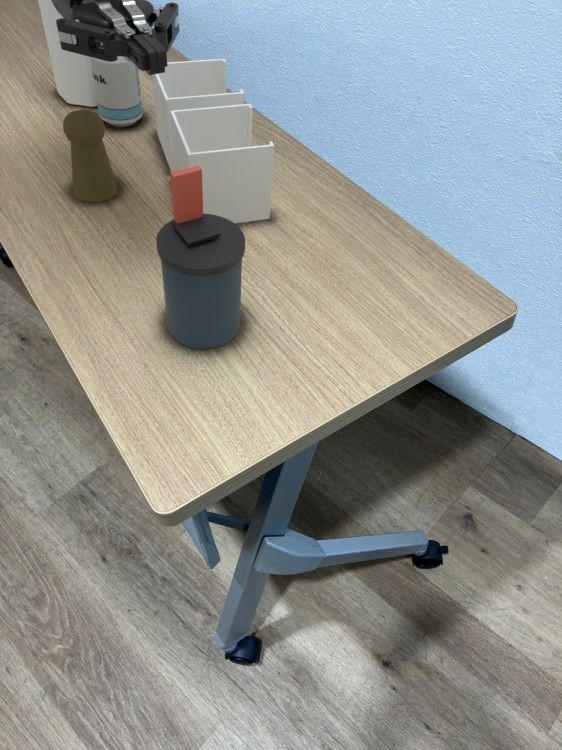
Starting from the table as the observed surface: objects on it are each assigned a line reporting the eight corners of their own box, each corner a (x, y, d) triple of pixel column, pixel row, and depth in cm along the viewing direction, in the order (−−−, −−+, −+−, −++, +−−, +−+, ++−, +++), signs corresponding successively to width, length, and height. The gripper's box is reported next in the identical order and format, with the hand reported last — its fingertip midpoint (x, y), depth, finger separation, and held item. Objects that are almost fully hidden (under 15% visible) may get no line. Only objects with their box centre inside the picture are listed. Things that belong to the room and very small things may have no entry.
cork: (71, 180, 88) (55, 105, 80) (114, 175, 90) (103, 101, 81) (75, 204, 84) (59, 128, 76) (120, 199, 86) (108, 124, 78)
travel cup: (152, 311, 72) (141, 226, 63) (220, 287, 76) (220, 204, 67) (185, 362, 68) (179, 278, 58) (256, 334, 71) (261, 252, 62)
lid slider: (171, 224, 63) (167, 173, 59) (202, 215, 65) (201, 164, 60) (188, 246, 61) (185, 195, 57) (220, 236, 63) (220, 185, 58)
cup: (93, 115, 100) (72, -13, 86) (43, 94, 103) (14, -33, 89) (138, 90, 107) (125, -33, 92) (90, 71, 110) (70, -50, 96)
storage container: (157, 134, 98) (151, 63, 89) (224, 128, 100) (224, 58, 92) (192, 229, 83) (188, 154, 74) (269, 218, 85) (274, 145, 77)
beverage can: (93, 114, 100) (80, 35, 91) (132, 105, 103) (124, 28, 94) (109, 134, 97) (98, 54, 88) (150, 124, 99) (143, 46, 90)
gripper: (17, -40, 59) (78, 30, 50) (145, -54, 64) (222, 8, 55) (35, 41, 65) (93, 117, 56) (151, 23, 70) (222, 90, 61)
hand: (157, 63), depth 56 cm, fingers closed
